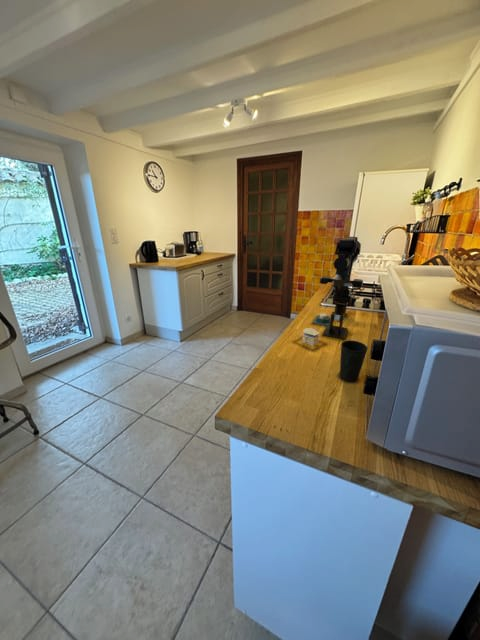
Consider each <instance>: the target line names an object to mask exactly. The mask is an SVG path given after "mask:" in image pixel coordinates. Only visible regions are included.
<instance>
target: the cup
mask: <svg viewBox="0 0 480 640" xmlns="http://www.w3.org/2000/svg"><path fill="white" fill-rule="evenodd" d="M367 351H368V346H367V345H366V343H365V344H364V343H363V342H360V341H358V340H343V341H342V342H341V344H340V364H339V365H340V366H339V377H340V379H341V380H343V382H346V383H356V382H357V381H358V380H359V377H360V374H361V370H362V367H363V365H364V361H365V358H366V354H367Z"/></svg>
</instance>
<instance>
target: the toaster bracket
mask: <svg viewBox="0 0 480 640" xmlns="http://www.w3.org/2000/svg"><path fill="white" fill-rule="evenodd" d="M329 317H330V318H331V321H330V325H328V326H325V329H324V331H323V333H322V337H327V338H331V339H337V340H341V341H345V338H346V335H347V333H348V330H349V329H348V327H344V326H343V325H344V321H345V320H346V316H345V317H344V313H342V315H341V318H340V322H339V325H335V320H334V317H335V311H332V313H331V314H330V315H329Z"/></svg>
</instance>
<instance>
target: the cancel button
mask: <svg viewBox="0 0 480 640" xmlns="http://www.w3.org/2000/svg"><path fill="white" fill-rule="evenodd" d="M319 315H320V317H319V318H322V319H326V318H327V316H328V314H327V313H319Z"/></svg>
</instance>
